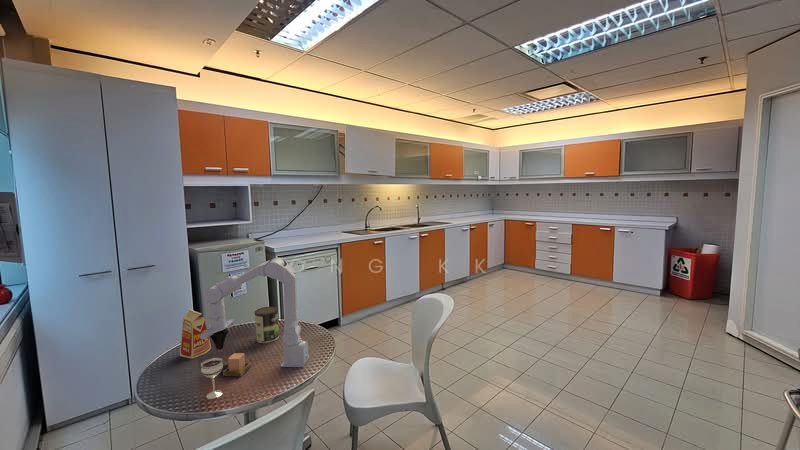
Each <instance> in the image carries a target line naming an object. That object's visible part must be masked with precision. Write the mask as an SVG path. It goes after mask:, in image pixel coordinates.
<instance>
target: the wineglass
mask: <svg viewBox="0 0 800 450" xmlns="http://www.w3.org/2000/svg"><path fill="white" fill-rule="evenodd" d="M223 363H224V362H223V358H222V357H212V358H209V359H205V360H203V361H202V362H201V363H200V367H201V368H200V373H201V375H202V376H203V377H205V378H206V379H207V378H209V379H211V384H212V388H213V389H212V390H213V391H210V392H209V393H207V394H206V399H208V400H211V399H213V400H214V399H217V398H219V397H221V396H222V395H223V391H222V390H221V389H219V390H218V389H217V390H216V386H215V385H216V383H215V378H216V377H218V375H220V374H221V371H222V369H223Z"/></svg>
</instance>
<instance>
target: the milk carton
mask: <svg viewBox="0 0 800 450" xmlns="http://www.w3.org/2000/svg"><path fill="white" fill-rule="evenodd" d="M187 309H188V312H187V313H186V314H185V315H184V316H183V318H182V328H181V337H180V338H181V339H180V348H179V349H180V350H179V357H183V358H187V359H195V358H198V357H201V356H202V355H206V354H207V353H208V352H209V351H211V349H212V345H211V337H210V336H209V337H207V339H201V334H202V333H203V332H205V331H206V330H207V329H208V325H207V321H206V318H205V316H203V313H201V312H198V311H195V310H193V309H192V308H187Z"/></svg>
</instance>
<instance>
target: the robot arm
mask: <svg viewBox="0 0 800 450" xmlns="http://www.w3.org/2000/svg"><path fill="white" fill-rule="evenodd" d="M258 276H260V277H263V278H264V277H266V276H267V277H268V278H270V279H273V280H275V281H276V280H277V281H278V282H280V283H281V284H283V304H284V305H283V307H284V325H283V333H282V335H281V341H282V347H283V362H282V363H281V364H280V367H281V368H304V367H305V366H306V363H307V361H308V360H309V358H310V356H309V344H308V343H309V342H308V341H306V340H302V337H301V335H300V334H301V332H302V326H301V324H300V319H299V317H298V301H297V299H298V297H297V276H296V274H295V273H294V272H293V269H292V268H291V267H290V265H289V263H288V261H286V260H285V259H283V258H282V257H280V256H279V257H274V258H272V259H271V260H270V259H269V260H266V261H265V262H263V263H260V264H258V265H257V266H254V268H251V269H250V270H247V271H246V272H244V273H242V274H241V275H239V276H237V275H229V276H227V277H226V278H225V280H223V281H221V282H217V283H215V284H214V285H213V286H211V287H210V288H209V289H208V290H206V292H205V293H204V299H205V301H206V302H207V312H208V319H209V320H208V323H209V326H208V327H207V330H206V331H205V332H203V333H202V334H201V339H207V337H209V338H210V340H212V341H213V343H214V346H215V349H216V350H223V349H224V345H225V341H226V337H227V336H228V334H229V329H228V328H229V327H230V326H234V325H235V319H226V307H225V297H227V296H229V295H231V294H233V293H235V292H237V291H238V290H240V289H242V286H243V284H244V283H247V282H248V281H251V280H252V279H255V278H257V277H258Z"/></svg>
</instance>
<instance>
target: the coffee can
mask: <svg viewBox="0 0 800 450" xmlns="http://www.w3.org/2000/svg"><path fill="white" fill-rule="evenodd" d="M254 320H255V321H254V322H255V334H256V335H255V336H256V342H257V343H259V344H267V343H271V342H275V341H277V340H278V339H279V338H280V332H279V331H280V329H279V315H278V307H276V306H264V307H261V308H258V309H256V310H254Z"/></svg>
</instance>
